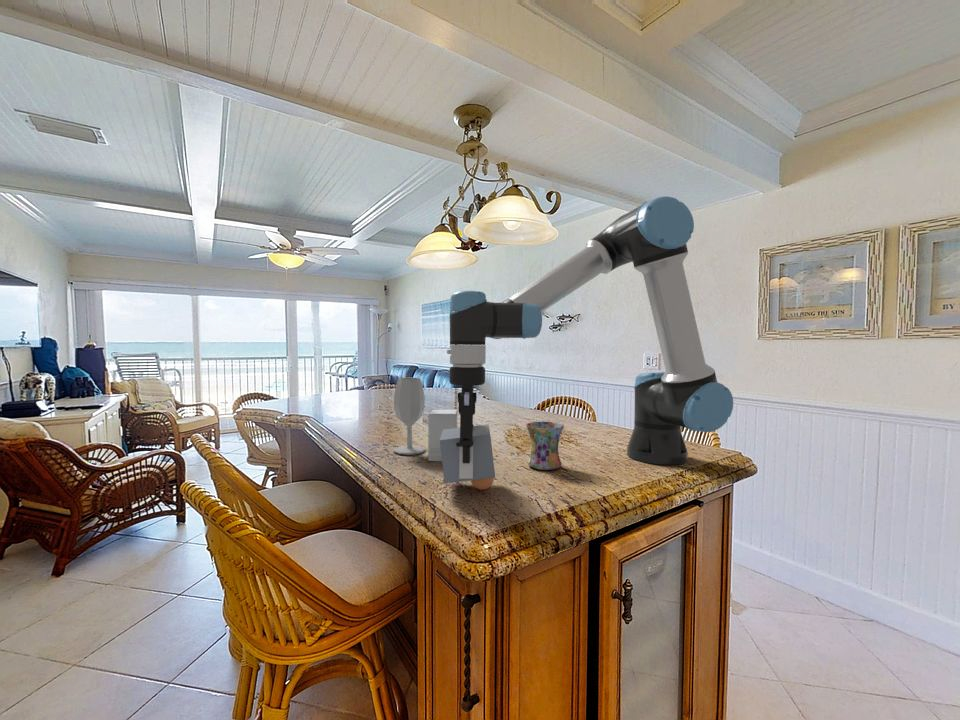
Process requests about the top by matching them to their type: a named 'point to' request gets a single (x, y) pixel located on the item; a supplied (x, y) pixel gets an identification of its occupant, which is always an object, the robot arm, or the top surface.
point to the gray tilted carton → (481, 454)
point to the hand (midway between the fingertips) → (466, 469)
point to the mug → (544, 444)
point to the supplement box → (439, 430)
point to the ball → (482, 483)
